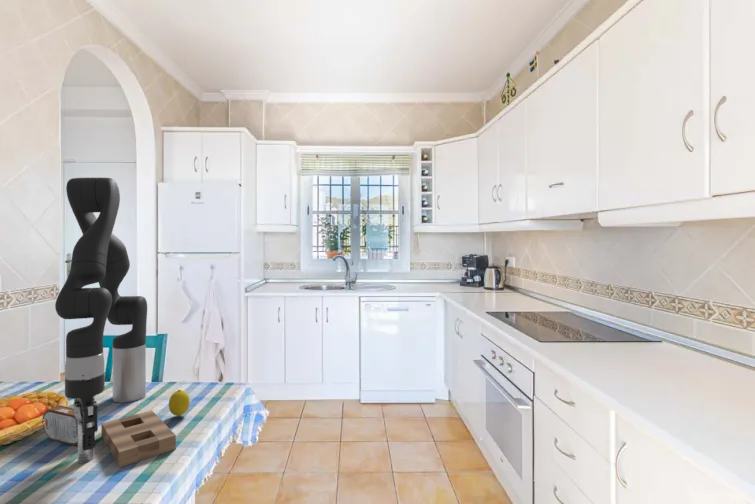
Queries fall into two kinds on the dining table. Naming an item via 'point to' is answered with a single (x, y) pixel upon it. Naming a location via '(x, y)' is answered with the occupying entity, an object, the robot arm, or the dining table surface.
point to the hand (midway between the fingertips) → (85, 442)
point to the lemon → (179, 403)
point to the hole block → (137, 437)
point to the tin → (61, 424)
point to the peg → (82, 455)
